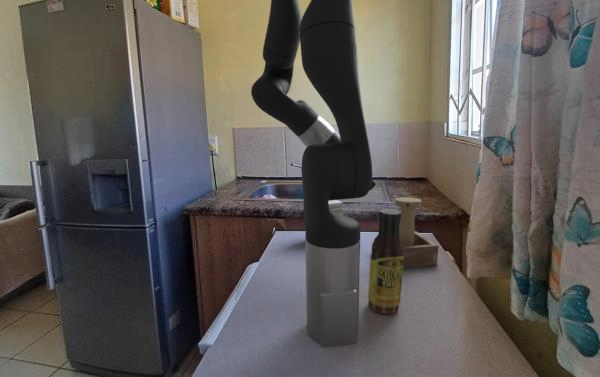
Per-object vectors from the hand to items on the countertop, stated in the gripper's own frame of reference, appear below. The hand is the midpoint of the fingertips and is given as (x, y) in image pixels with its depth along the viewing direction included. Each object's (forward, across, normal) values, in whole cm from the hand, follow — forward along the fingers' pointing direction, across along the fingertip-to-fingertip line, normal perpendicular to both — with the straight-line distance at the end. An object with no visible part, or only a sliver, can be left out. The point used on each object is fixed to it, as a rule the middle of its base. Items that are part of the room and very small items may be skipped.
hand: (366, 184), depth 86 cm
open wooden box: (+23, 0, +6) cm, 24 cm away
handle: (+22, 0, +6) cm, 23 cm away
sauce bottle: (+12, -22, +18) cm, 31 cm away
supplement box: (+10, +17, +19) cm, 28 cm away
